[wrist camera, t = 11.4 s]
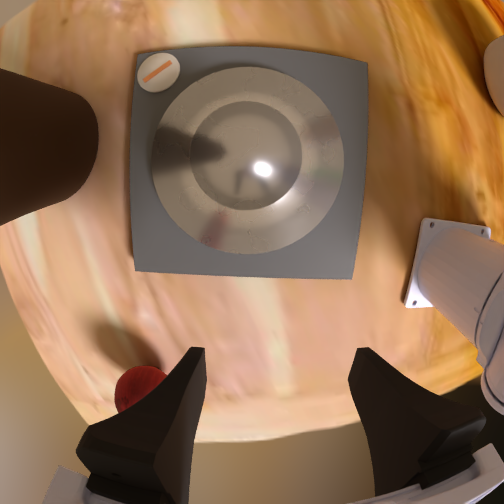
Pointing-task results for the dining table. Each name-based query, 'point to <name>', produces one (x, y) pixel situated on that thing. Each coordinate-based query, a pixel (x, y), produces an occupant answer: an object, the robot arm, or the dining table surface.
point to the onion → (136, 385)
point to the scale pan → (259, 220)
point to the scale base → (263, 264)
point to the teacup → (495, 72)
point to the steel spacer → (246, 155)
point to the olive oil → (42, 144)
